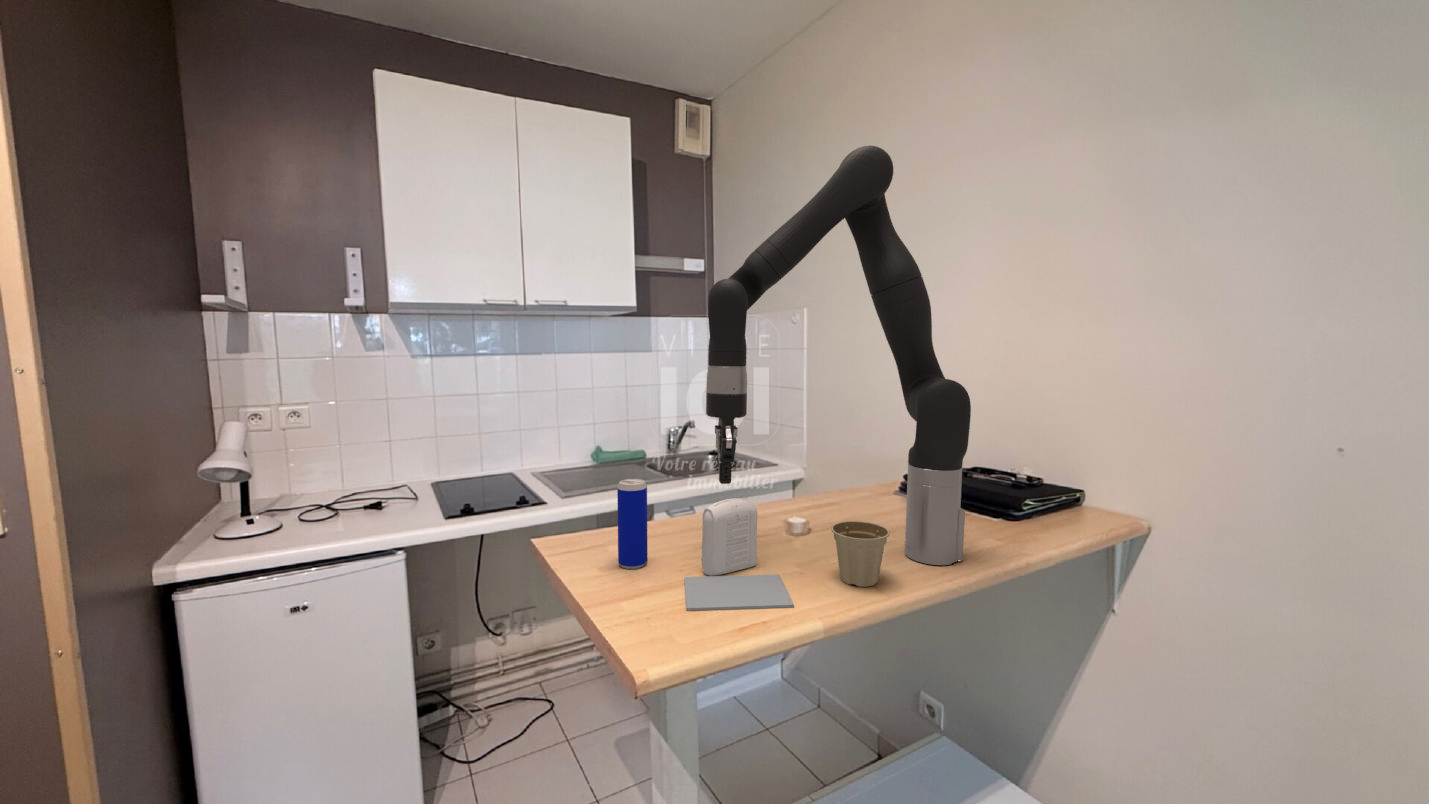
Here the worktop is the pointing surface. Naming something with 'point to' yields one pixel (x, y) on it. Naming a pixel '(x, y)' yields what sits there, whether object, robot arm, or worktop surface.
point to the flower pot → (859, 551)
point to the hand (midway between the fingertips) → (724, 482)
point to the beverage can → (632, 523)
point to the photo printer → (729, 536)
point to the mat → (736, 592)
